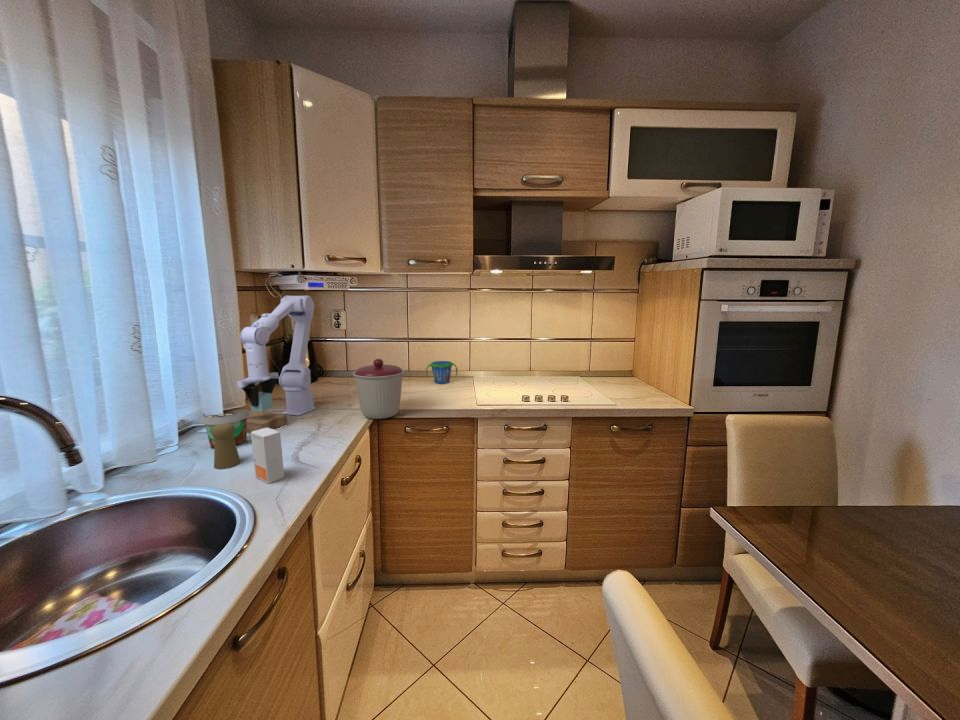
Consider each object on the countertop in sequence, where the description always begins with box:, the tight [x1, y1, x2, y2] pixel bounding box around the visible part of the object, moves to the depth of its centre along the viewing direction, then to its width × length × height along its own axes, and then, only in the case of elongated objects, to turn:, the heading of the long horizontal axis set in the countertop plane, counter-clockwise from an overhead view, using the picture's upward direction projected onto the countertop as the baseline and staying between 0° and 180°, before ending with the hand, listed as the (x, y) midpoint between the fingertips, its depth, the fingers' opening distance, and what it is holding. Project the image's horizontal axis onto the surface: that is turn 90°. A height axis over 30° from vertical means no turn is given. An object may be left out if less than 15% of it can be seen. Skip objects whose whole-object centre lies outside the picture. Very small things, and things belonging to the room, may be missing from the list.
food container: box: [200, 409, 250, 450], centre depth 116 cm, size 12×6×10 cm, turn 105°
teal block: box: [249, 391, 274, 412], centre depth 131 cm, size 4×4×5 cm
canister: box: [352, 358, 405, 420], centre depth 145 cm, size 18×18×21 cm
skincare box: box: [250, 428, 285, 485], centre depth 96 cm, size 6×4×12 cm
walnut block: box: [247, 411, 288, 434], centre depth 132 cm, size 10×10×4 cm
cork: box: [212, 423, 241, 470], centre depth 104 cm, size 6×6×11 cm
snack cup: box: [425, 360, 458, 385], centre depth 197 cm, size 16×10×10 cm
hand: (261, 403), depth 131 cm, fingers closed on teal block, 4 cm apart
